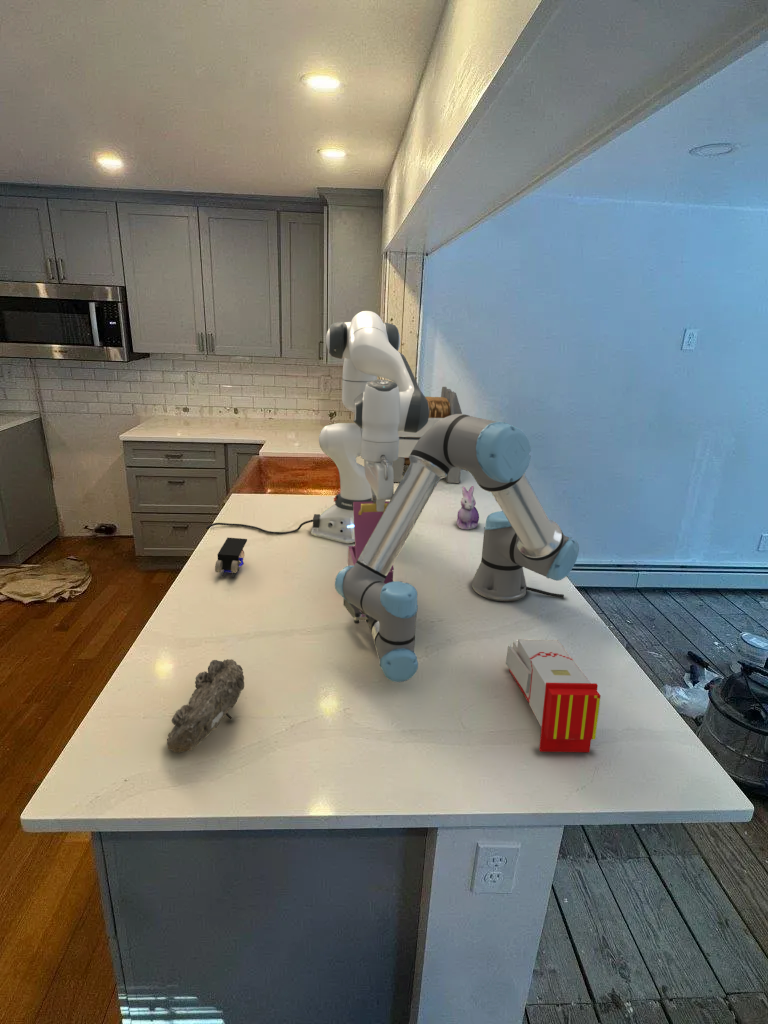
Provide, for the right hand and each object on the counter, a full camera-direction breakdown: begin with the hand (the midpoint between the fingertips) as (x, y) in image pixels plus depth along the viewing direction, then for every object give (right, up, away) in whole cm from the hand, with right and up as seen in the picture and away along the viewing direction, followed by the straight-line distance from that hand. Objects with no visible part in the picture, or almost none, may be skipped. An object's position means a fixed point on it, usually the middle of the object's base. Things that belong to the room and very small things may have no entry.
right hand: (371, 584), depth 150 cm
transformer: (+20, +38, +125) cm, 133 cm away
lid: (0, +13, -3) cm, 13 cm away
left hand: (+2, +20, -11) cm, 23 cm away
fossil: (-30, -20, -41) cm, 55 cm away
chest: (-1, -4, +7) cm, 8 cm away
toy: (+36, -20, -34) cm, 53 cm away
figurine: (+34, +14, +61) cm, 71 cm away
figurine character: (-42, +2, +18) cm, 45 cm away
